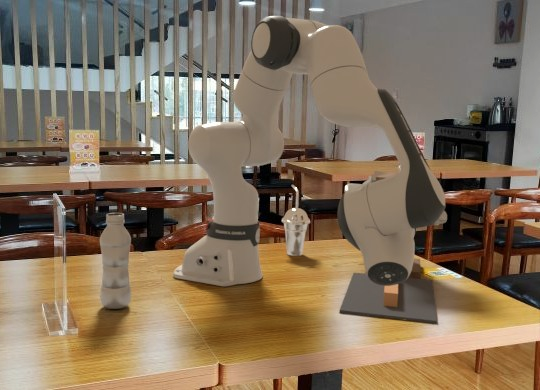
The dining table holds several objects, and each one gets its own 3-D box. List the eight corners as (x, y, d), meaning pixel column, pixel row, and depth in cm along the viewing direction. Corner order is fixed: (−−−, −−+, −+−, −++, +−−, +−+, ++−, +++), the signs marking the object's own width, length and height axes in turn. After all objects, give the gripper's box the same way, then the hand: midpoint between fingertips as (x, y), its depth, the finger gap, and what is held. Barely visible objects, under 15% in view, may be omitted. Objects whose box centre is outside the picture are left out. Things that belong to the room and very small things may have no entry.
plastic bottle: (100, 313, 121) (98, 217, 117) (100, 302, 127) (99, 211, 124) (132, 311, 122) (131, 217, 119) (130, 301, 129) (130, 211, 126)
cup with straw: (277, 256, 171) (279, 188, 168) (283, 249, 179) (286, 184, 176) (306, 258, 169) (309, 190, 166) (311, 251, 178) (314, 185, 175)
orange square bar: (383, 305, 129) (384, 292, 129) (385, 279, 149) (386, 268, 148) (397, 306, 129) (398, 293, 128) (397, 281, 148) (398, 269, 147)
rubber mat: (339, 312, 126) (339, 310, 125) (353, 274, 154) (353, 272, 154) (436, 323, 121) (436, 320, 121) (432, 282, 150) (432, 280, 150)
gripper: (449, 212, 110) (447, 171, 121) (340, 202, 114) (347, 164, 125) (445, 238, 114) (443, 196, 125) (339, 227, 118) (347, 188, 129)
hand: (394, 180), depth 125 cm, fingers open, 8 cm apart
